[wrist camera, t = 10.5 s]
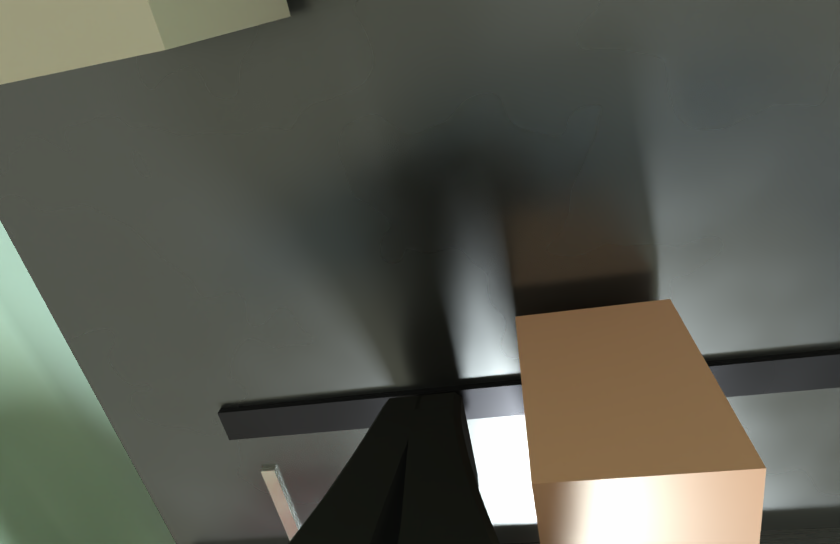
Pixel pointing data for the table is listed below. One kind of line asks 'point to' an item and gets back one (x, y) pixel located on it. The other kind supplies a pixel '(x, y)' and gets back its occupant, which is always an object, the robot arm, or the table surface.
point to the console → (434, 233)
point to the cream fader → (113, 30)
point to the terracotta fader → (632, 432)
